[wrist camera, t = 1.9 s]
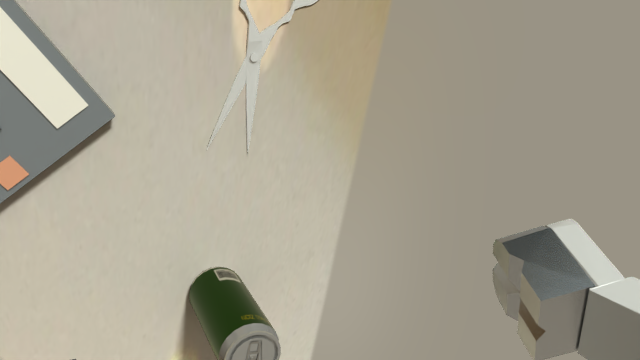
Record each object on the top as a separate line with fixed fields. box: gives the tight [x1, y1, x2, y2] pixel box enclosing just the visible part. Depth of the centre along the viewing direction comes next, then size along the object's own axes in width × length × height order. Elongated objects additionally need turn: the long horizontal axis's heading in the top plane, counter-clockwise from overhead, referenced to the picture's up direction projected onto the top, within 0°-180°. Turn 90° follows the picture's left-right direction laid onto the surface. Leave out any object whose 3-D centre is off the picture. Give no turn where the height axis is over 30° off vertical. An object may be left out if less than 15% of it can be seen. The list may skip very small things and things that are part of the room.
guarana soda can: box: [189, 267, 280, 360], centre depth 53 cm, size 5×5×12 cm
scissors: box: [207, 0, 318, 150], centre depth 52 cm, size 11×1×20 cm
